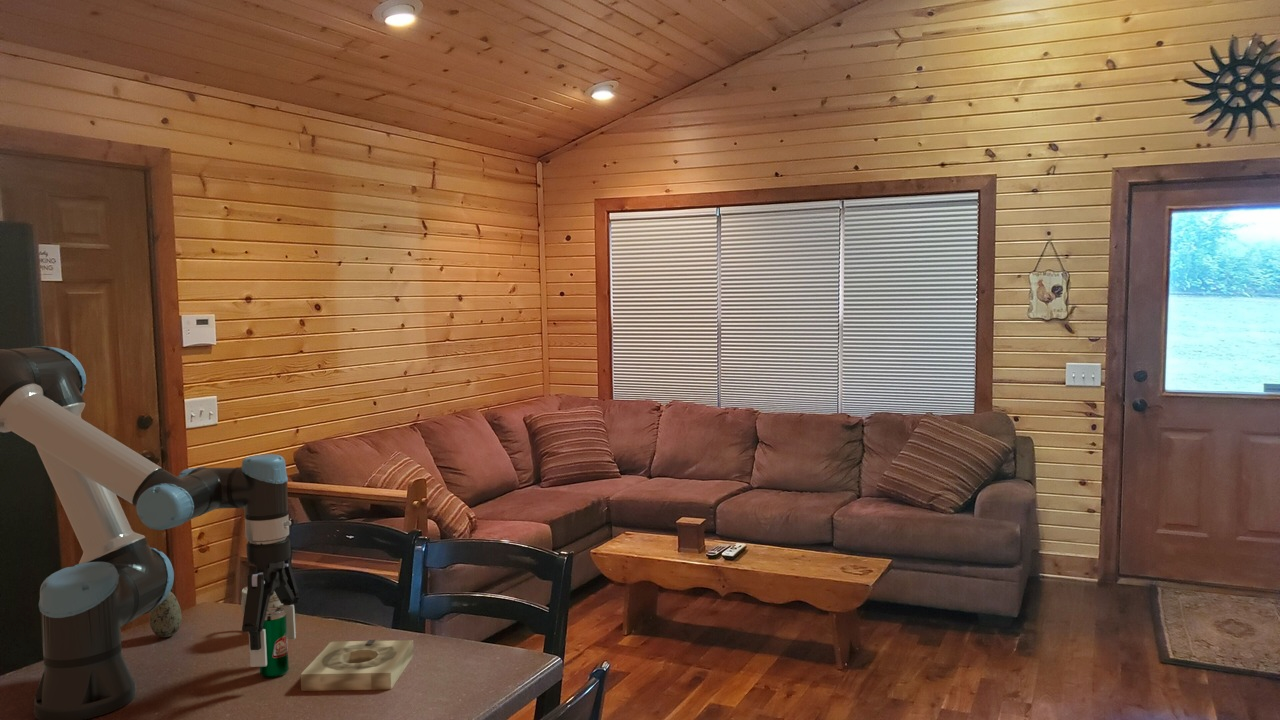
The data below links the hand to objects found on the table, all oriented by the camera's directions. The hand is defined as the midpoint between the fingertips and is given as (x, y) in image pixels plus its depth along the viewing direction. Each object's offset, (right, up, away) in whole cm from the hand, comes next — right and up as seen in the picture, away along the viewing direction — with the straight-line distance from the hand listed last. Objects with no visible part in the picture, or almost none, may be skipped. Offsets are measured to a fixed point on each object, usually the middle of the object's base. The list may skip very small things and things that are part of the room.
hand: (274, 651), depth 173 cm
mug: (-12, -3, +22) cm, 26 cm away
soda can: (0, -4, 0) cm, 4 cm away
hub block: (+16, -4, 0) cm, 16 cm away
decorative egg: (-31, -4, +22) cm, 38 cm away
